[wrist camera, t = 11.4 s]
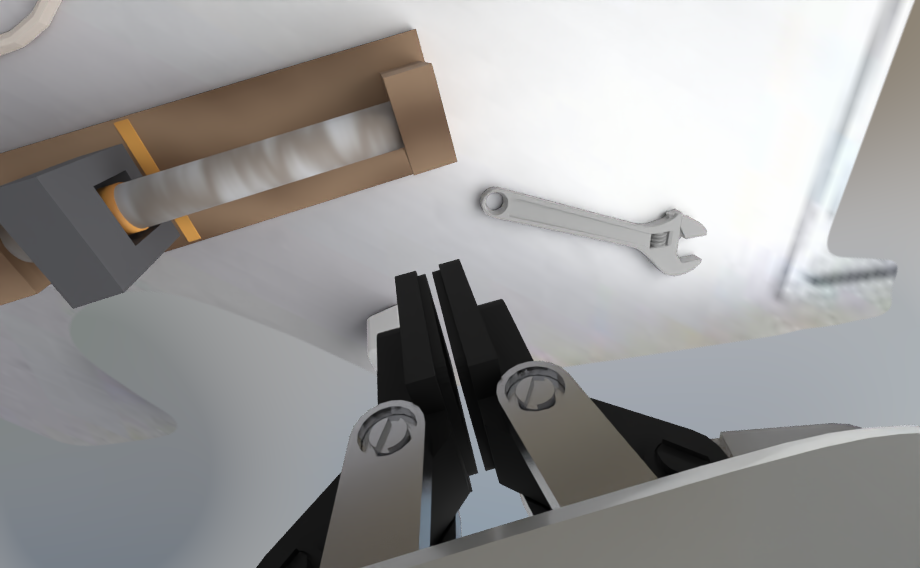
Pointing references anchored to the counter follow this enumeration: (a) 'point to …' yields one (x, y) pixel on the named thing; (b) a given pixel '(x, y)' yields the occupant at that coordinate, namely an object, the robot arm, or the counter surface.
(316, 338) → the counter surface
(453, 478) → the robot arm
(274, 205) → the pipe stand
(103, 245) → the collar
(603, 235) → the adjustable wrench
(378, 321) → the salt shaker
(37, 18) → the hand towel holder
